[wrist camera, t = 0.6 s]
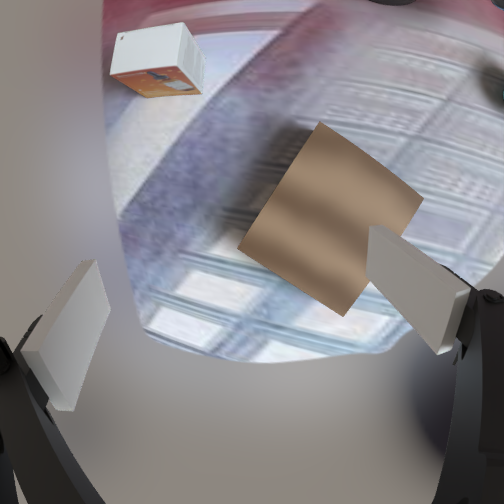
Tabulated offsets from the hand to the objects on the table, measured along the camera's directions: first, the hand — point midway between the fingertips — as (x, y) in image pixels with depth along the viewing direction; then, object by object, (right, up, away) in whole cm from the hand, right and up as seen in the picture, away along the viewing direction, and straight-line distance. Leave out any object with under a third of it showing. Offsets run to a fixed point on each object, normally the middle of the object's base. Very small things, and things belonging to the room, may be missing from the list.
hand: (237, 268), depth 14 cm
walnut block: (+10, +5, +23) cm, 26 cm away
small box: (-9, +24, +22) cm, 33 cm away
